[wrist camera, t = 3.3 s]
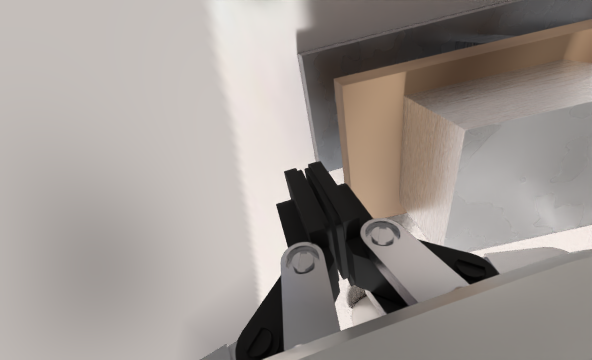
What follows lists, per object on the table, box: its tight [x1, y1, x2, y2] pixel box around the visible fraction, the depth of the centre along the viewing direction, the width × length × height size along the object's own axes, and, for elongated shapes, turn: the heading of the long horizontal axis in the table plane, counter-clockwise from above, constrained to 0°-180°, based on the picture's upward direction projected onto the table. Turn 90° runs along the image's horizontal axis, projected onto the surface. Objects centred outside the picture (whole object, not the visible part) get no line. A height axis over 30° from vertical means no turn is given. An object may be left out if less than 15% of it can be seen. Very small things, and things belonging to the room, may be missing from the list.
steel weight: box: [399, 59, 592, 252], centre depth 11 cm, size 7×6×4 cm
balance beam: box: [334, 19, 592, 219], centre depth 13 cm, size 24×8×2 cm, turn 101°
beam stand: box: [297, 0, 592, 172], centre depth 17 cm, size 24×9×8 cm, turn 101°
